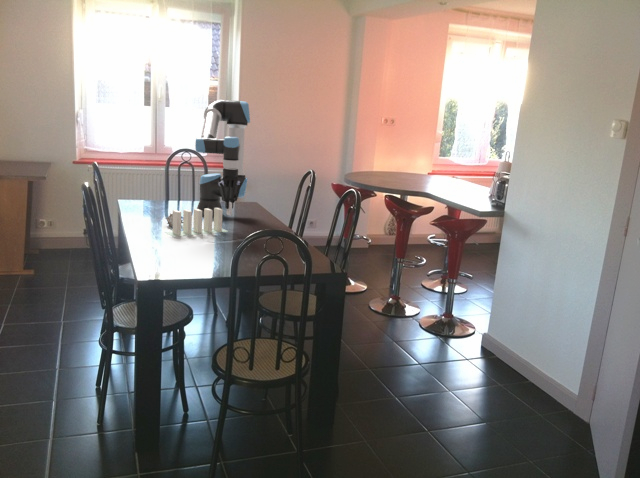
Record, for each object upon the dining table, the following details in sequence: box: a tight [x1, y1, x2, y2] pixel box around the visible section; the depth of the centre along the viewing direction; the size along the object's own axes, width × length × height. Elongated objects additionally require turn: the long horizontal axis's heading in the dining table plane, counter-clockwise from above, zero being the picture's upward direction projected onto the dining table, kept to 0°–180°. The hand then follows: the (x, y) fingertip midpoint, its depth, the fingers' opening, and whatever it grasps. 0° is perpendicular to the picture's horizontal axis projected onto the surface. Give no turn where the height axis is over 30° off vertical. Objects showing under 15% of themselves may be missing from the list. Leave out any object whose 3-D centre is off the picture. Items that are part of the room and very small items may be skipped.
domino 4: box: [203, 208, 213, 232], centre depth 292 cm, size 2×5×11 cm, turn 37°
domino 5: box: [213, 208, 224, 231], centre depth 295 cm, size 2×5×11 cm, turn 38°
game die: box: [164, 213, 183, 228], centre depth 299 cm, size 9×8×10 cm
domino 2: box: [182, 209, 193, 234], centre depth 285 cm, size 2×5×11 cm, turn 38°
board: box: [164, 227, 230, 237], centre depth 290 cm, size 30×9×1 cm, turn 128°
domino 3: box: [192, 208, 203, 233], centre depth 289 cm, size 2×5×11 cm, turn 38°
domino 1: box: [172, 209, 182, 235], centre depth 282 cm, size 2×5×11 cm, turn 38°
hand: (229, 214), depth 299 cm, fingers closed
